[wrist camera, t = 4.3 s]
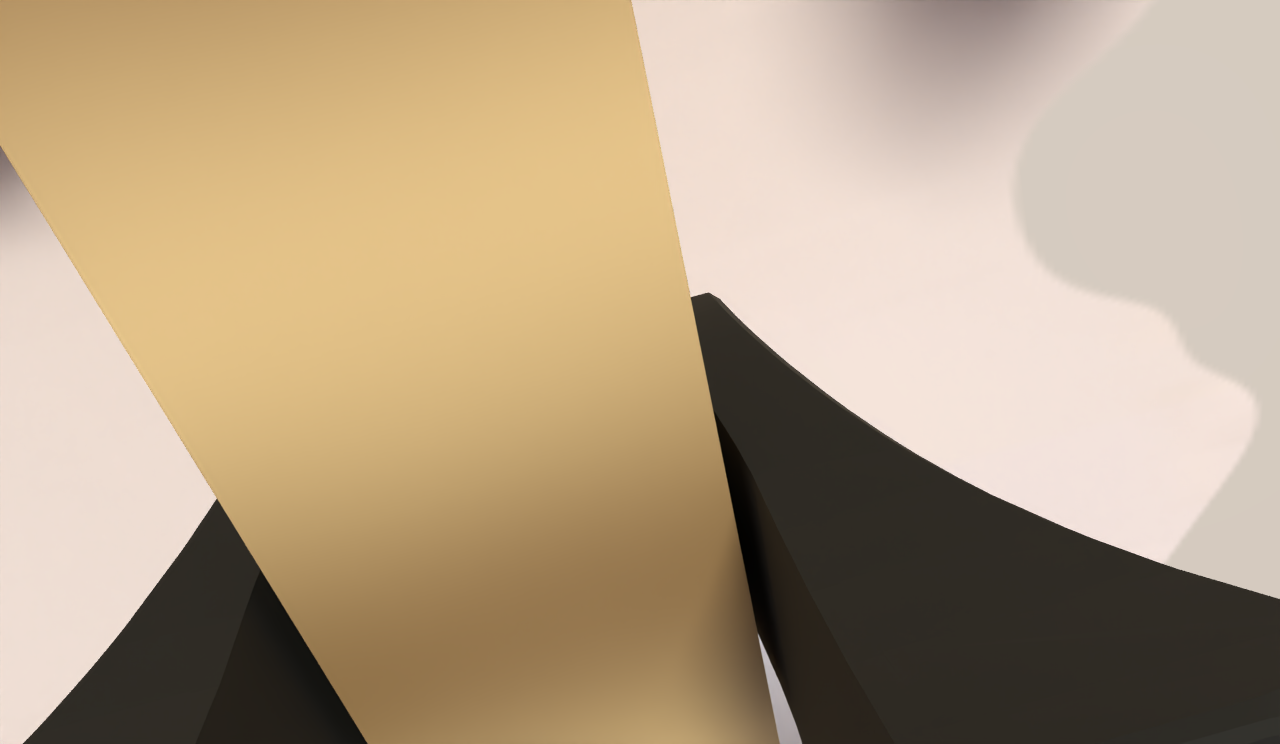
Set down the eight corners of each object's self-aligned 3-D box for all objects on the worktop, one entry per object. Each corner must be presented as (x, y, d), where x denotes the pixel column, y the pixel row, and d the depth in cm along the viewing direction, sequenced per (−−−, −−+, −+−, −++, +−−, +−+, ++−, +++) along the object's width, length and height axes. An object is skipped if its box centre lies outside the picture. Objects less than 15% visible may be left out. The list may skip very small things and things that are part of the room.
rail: (714, 616, 18) (833, 1001, 13) (519, 670, 18) (560, 1079, 13) (454, -491, 9) (501, -696, 4) (61, -395, 9) (-430, -478, 4)
